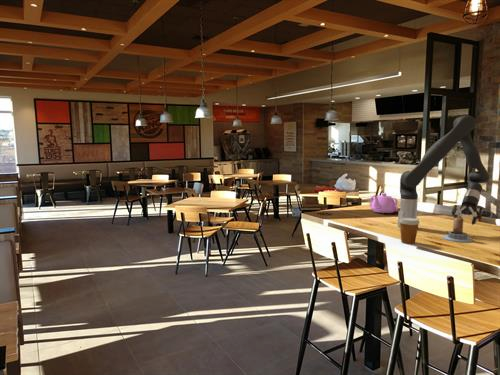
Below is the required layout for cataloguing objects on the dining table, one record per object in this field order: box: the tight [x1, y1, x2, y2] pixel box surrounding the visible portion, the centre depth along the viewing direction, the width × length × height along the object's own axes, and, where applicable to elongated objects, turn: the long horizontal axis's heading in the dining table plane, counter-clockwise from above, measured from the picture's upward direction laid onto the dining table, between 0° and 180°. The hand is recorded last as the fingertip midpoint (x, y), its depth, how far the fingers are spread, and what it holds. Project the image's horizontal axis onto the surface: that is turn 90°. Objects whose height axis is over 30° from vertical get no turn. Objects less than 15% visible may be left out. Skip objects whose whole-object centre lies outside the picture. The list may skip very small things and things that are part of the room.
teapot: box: [369, 192, 399, 214], centre depth 278 cm, size 22×22×14 cm
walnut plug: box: [452, 217, 464, 235], centre depth 201 cm, size 4×4×10 cm
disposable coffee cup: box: [399, 217, 420, 245], centre depth 193 cm, size 10×10×12 cm
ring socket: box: [441, 230, 474, 244], centre depth 201 cm, size 14×14×3 cm
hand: (463, 222), depth 207 cm, fingers open, 8 cm apart
